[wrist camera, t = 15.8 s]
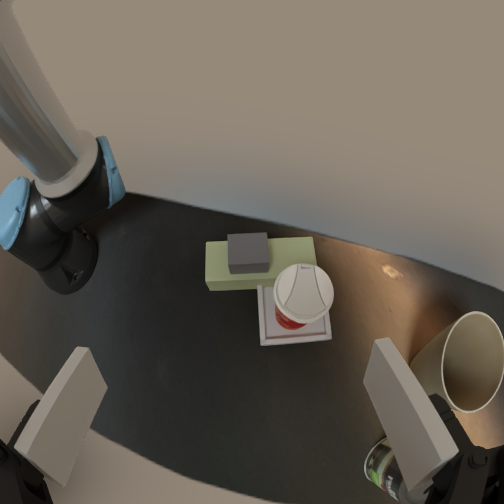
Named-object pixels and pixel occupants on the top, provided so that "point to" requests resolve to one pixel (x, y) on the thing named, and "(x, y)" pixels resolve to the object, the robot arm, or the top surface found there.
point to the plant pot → (463, 363)
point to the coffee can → (391, 475)
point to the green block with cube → (263, 279)
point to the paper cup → (302, 295)
